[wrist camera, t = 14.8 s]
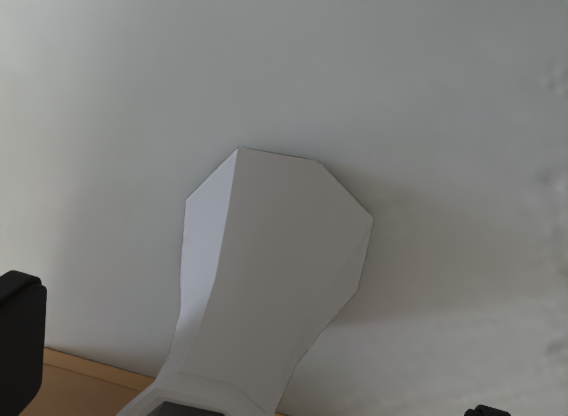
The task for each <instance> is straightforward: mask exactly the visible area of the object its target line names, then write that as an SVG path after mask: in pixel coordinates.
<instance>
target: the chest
mask: <svg viewBox="0 0 568 416" xmlns="http://www.w3.org/2000/svg"><path fill="white" fill-rule="evenodd" d="M154 381H155V379H154V378H150V377H147V376H143V375H140V374H136V373H133V372H129V371H125V370H122V369H118V368H115V367H111V366H108V365H104V364H100V363H97V362H93V361H90V360H86V359H83V358H79V357H76V356H72V355H68V354H65V353H61V352H58V351H54V350H51V349H47V348H44V356H43V375H42V384H41V387H40V389H39V392H38V393H37V395H36V397H35V398H34V399H33V400H32V401H31V402H30V404H29V405H28V406H27V407H26V408H25V409H24V410H23V411H22V412H21V413H20V414H19V416H116V415H117V414H118V413H119V412H120V411H121V410H122V409H123V408H124V407H125V406H126V405H127V404H128V403H129V402H131V401H132V400H133V399H134V398H135V397H137V396H138V395H139V394H140V393H141V392H143V391H144V390H145V389H146V388H147V387H149V386H150V385H151V384H152V383H153V382H154ZM274 416H286V415H282V414H278V413H275V415H274Z"/></svg>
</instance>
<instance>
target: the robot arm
mask: <svg viewBox="0 0 568 416" xmlns="http://www.w3.org/2000/svg"><path fill="white" fill-rule="evenodd" d="M46 300H47V289H46V287H45V286H43V285H42V283H41V280H40V278H38V277H36V276H33V275H29V274H26V273H22V272H19V271H15V270H11V271H9V272H7V273H5V274H4V275H2V276H1V277H0V416H19V414H20V413H21V412H22V411H23V410H24V409H25V408H26V407H27V406H28V405H29V404H30V402H31V401H32V400H33V399H34V398H35V397H36V395H37V393H38V392H39V389H40V387H41V384H42V375H43V356H44V337H45V318H46ZM464 416H511V415H510V414H509V413H508V412H506V411H502V410H499V409H495V408H492V407H488V406H485V405H478V406H477V407H476V408H475V409H474V410H473V409H468V410H467V411H466V412H465V414H464Z"/></svg>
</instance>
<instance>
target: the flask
mask: <svg viewBox="0 0 568 416" xmlns="http://www.w3.org/2000/svg"><path fill="white" fill-rule="evenodd" d="M373 222H374V218H373V217H372V216H371V215H370V214H369V213H368V212H367V211H366V210H365V209H364V208H363V207H362V206H361V205H360V204H359V203H358V202H357V201H356V200H355V198H354V197H353V196H352V195H351V194H350V193H349V192H348V191H347V190H346V189H345V188H344V187H343V186H342V185H341V184H340V183H339V182H338V181H337V180H336V179H335V178H334V177H333V175H332V174H331V173H330V172H329V171H328V170H327V169H326V168H325V167H324V166H323V165H322V164H321V163H320V162H319V161H314V160H308V159H303V158H297V157H291V156H286V155H280V154H274V153H269V152H263V151H257V150H252V149H246V148H240V147H238V148H237V149H236V150H235V151H234V152H233V153H232V154H231V155H230V156H229V157H228V158H227V159H226V160H225V161H224V162H223V163H222V164H221V165H220V166H219V167H218V168H217V169H216V170H215V171H214V172H213V173H212V174H211V175H210V176H209V177H208V178H207V179H206V180H205V181H204V182H203V183H202V184H201V185H200V186H199V187H198V188H197V189H196V190H195V191H194V192H193V193H192V194H191V195H190V196H189V197H188V198H187V199H186V206H185V218H184V231H183V243H182V256H181V268H180V296H181V309H180V315H179V319H178V322H177V326H176V329H175V332H174V336H173V339H172V343H171V346H170V350H169V353H168V357H167V359H166V361H165V363H164V365H163V366H162V368H161V370H160V372H159V374H158V376H157V377H156V379H155V381H154V382H153V383H152V384H151V385H150V386H149V387H147V388H146V389H145V390H144V391H143V392H141V393H140V394H139V395H138V396H137V397H135V398H134V399H133V400H132V401H131V402H129V403H128V404H127V405H126V406H125V407H124V408H123V409H122V410H121V411H120V412H119V413H118V414H117V415H116V416H274V415H275V411H276V409H277V406H278V404H279V402H280V400H281V398H282V395H283V393H284V391H285V389H286V386H287V384H288V382H289V380H290V377H291V375H292V373H293V371H294V368H295V366H296V365H297V363H298V362H299V361H300V359H301V358H302V357H303V356H304V354H305V353H306V352H307V350H308V349H309V348H310V346H311V345H312V344H313V343H314V341H315V340H316V339H317V337H318V336H319V335H320V333H321V332H322V331H323V330H324V328H325V327H326V326H327V324H328V323H329V322H330V321H331V320H332V319H333V318H334V316H335V315H336V314H337V313H338V312H339V311H340V310H341V309H342V307H343V306H344V305H345V304H346V303H347V302H348V301H349V300H350V299H351V297H352V296H353V295H354V293H355V292H356V291H357V290H358V287H359V282H360V278H361V274H362V269H363V265H364V261H365V257H366V252H367V248H368V244H369V239H370V235H371V231H372V227H373Z"/></svg>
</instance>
